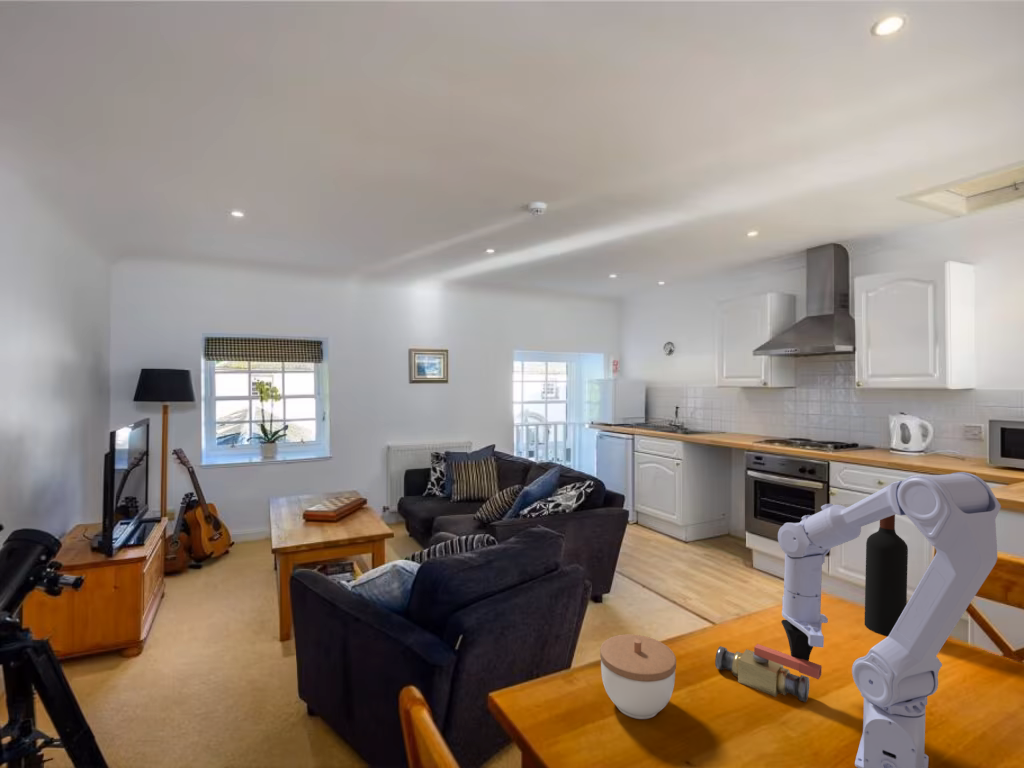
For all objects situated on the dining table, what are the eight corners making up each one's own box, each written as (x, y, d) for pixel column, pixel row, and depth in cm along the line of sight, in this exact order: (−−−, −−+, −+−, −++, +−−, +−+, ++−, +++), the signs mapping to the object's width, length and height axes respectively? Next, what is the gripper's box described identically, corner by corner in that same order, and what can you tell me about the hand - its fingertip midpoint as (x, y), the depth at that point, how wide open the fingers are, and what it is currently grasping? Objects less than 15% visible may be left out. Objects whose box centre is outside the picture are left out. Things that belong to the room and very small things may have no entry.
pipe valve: (809, 695, 90) (810, 671, 90) (803, 708, 86) (804, 683, 86) (723, 662, 100) (723, 641, 99) (714, 673, 96) (714, 650, 96)
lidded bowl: (644, 676, 95) (644, 618, 94) (691, 719, 83) (693, 652, 83) (585, 692, 90) (586, 630, 90) (628, 739, 78) (629, 669, 78)
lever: (750, 659, 93) (751, 646, 93) (755, 653, 95) (756, 641, 94) (817, 684, 85) (818, 670, 85) (821, 677, 87) (822, 664, 87)
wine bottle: (857, 624, 115) (859, 494, 115) (876, 618, 119) (879, 491, 118) (893, 640, 109) (896, 501, 108) (913, 633, 112) (916, 498, 111)
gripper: (845, 611, 81) (842, 693, 82) (811, 575, 96) (809, 645, 96) (797, 607, 83) (795, 687, 83) (771, 571, 97) (769, 641, 97)
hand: (799, 664), depth 90 cm, fingers closed, pressing on lever
